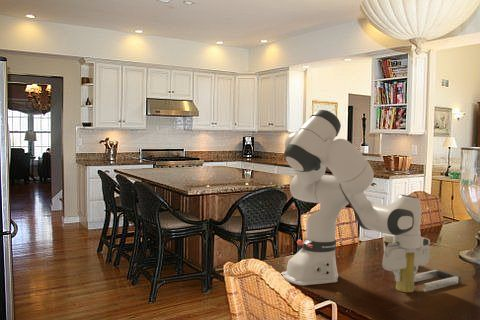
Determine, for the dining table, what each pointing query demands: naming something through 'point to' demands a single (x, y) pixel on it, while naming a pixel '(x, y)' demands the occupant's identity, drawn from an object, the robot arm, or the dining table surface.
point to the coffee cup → (387, 239)
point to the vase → (407, 275)
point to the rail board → (446, 280)
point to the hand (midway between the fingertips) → (405, 279)
